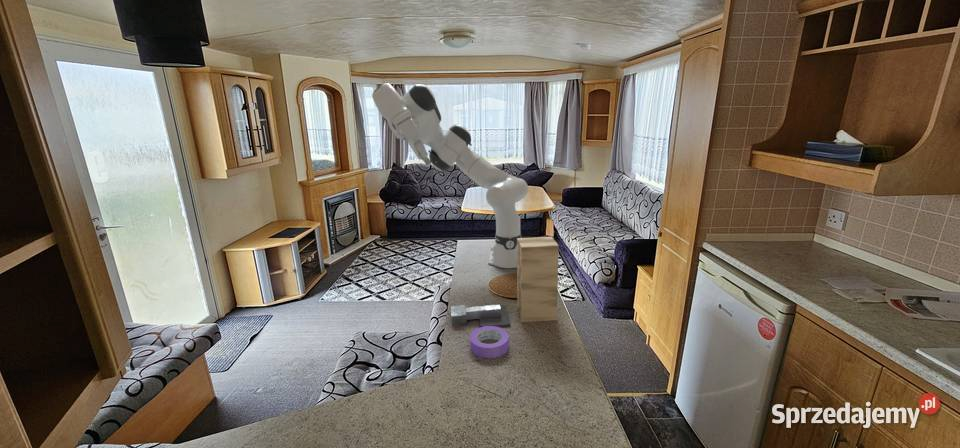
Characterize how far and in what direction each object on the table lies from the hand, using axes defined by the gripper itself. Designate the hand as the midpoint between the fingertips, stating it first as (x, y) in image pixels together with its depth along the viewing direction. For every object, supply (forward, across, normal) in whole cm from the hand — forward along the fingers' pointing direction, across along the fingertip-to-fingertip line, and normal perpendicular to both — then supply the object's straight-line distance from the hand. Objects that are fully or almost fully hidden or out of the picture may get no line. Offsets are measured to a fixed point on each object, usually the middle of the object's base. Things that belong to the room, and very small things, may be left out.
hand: (427, 160), depth 127 cm
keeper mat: (+55, -16, -10) cm, 58 cm away
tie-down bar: (+49, -14, -14) cm, 53 cm away
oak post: (+63, -16, +3) cm, 65 cm away
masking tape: (+60, 0, -16) cm, 62 cm away
